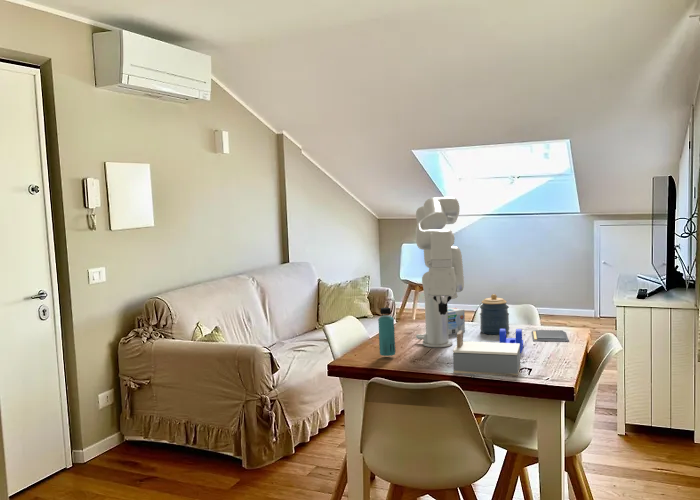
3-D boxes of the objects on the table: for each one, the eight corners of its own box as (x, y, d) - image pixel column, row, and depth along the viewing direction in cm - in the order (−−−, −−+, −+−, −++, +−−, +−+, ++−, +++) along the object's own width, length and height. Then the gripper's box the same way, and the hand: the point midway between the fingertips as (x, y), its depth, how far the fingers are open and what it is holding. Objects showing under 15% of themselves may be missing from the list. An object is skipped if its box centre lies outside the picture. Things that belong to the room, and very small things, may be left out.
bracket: (521, 353, 237) (520, 331, 236) (499, 352, 240) (499, 330, 239) (523, 343, 254) (523, 322, 253) (503, 342, 257) (503, 321, 256)
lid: (453, 352, 214) (452, 336, 213) (459, 343, 227) (459, 328, 227) (517, 355, 206) (516, 338, 206) (520, 345, 220) (519, 329, 219)
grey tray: (453, 372, 214) (453, 353, 214) (460, 362, 228) (459, 344, 227) (517, 376, 207) (517, 356, 206) (520, 365, 220) (520, 346, 220)
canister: (476, 333, 275) (475, 295, 273) (485, 328, 286) (484, 291, 284) (504, 336, 268) (503, 296, 267) (513, 330, 279) (512, 292, 278)
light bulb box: (447, 335, 274) (446, 312, 273) (438, 333, 280) (437, 310, 279) (465, 332, 279) (465, 309, 278) (456, 329, 285) (455, 307, 284)
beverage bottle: (391, 360, 235) (389, 309, 233) (376, 358, 238) (374, 308, 237) (398, 356, 240) (397, 306, 239) (384, 354, 244) (382, 306, 242)
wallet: (569, 339, 251) (531, 338, 256) (569, 343, 251) (531, 342, 256) (566, 329, 270) (531, 328, 275) (566, 333, 270) (531, 332, 275)
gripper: (419, 265, 218) (420, 315, 220) (460, 264, 213) (462, 316, 214) (423, 263, 226) (425, 312, 227) (463, 263, 220) (465, 312, 222)
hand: (443, 314), depth 221 cm, fingers closed
